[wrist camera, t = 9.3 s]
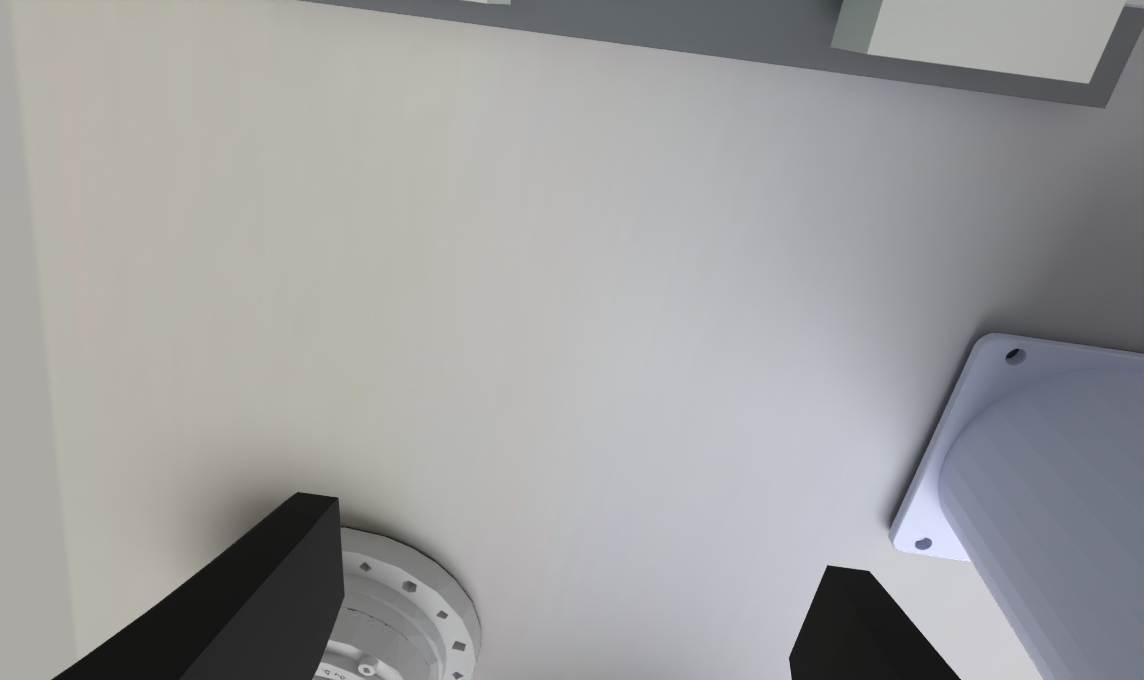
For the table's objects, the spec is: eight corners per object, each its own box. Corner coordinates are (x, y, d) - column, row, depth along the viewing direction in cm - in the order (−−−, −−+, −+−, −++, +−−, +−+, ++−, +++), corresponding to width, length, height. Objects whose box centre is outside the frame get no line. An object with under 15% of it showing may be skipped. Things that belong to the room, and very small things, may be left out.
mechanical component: (460, 519, 24) (206, 521, 25) (425, 620, 20) (125, 617, 21) (499, 696, 28) (282, 691, 29) (476, 808, 24) (227, 797, 25)
